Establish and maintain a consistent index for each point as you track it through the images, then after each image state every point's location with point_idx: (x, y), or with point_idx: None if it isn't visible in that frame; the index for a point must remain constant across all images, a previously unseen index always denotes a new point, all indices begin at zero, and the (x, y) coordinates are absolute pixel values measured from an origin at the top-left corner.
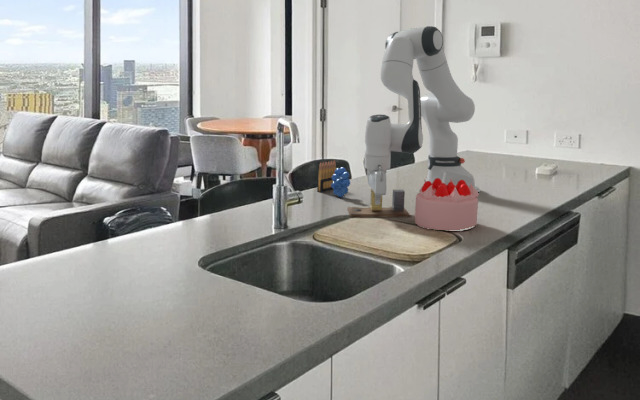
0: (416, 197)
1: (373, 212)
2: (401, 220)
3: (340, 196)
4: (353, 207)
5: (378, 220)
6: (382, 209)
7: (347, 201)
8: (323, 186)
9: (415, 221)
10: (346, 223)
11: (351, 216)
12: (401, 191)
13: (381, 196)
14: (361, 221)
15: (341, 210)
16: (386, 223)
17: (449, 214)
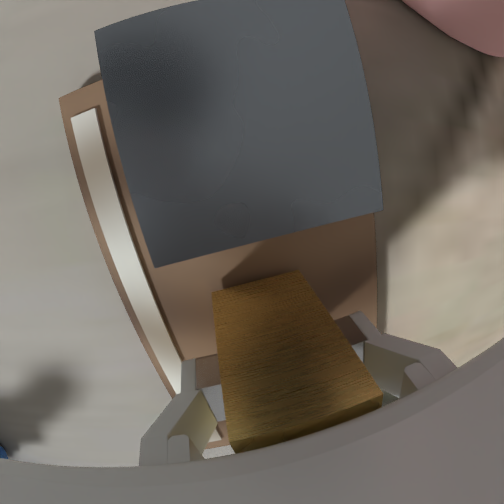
0: None
1: (332, 316)
2: (431, 112)
3: (5, 452)
4: (217, 431)
5: (436, 254)
6: (215, 270)
7: (35, 436)
8: None
9: (495, 54)
10: (455, 364)
11: None
12: (351, 51)
13: (350, 352)
14: (442, 327)
15: (227, 449)
16: (482, 206)
17: None
